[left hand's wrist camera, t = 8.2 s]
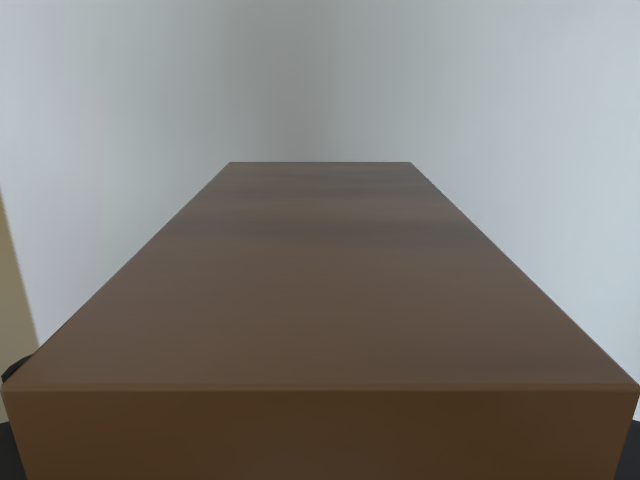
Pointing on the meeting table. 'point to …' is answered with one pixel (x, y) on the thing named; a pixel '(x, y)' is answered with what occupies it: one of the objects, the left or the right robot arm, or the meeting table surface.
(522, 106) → the meeting table surface
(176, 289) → the box
